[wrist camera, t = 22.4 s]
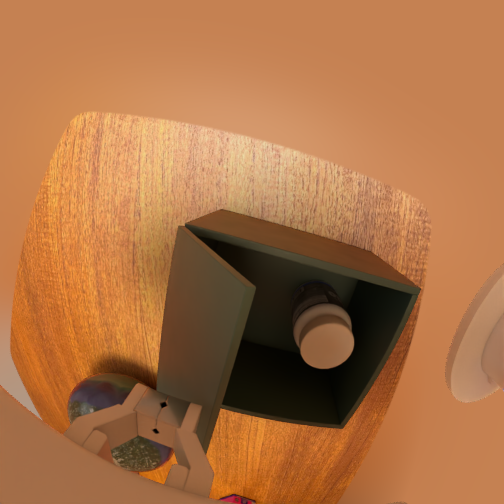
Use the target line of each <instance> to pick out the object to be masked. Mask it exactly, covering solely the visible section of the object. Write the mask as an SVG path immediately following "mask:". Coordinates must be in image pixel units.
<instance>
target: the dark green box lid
mask: <svg viewBox="0 0 504 504" xmlns="http://www.w3.org/2000/svg"><path fill="white" fill-rule="evenodd" d="M255 290H256V287H255V286H254V285H253V284H252V283H251V282H249V281H248V280H247V279H246V278H245V277H243V276H242V275H241V274H240V273H239V272H237V271H236V270H235V269H234V268H233V267H231V266H230V265H229V264H228V263H227V262H226V261H224V260H223V259H222V258H221V257H220V256H218V255H217V254H216V253H215V252H214V251H213V250H211V249H210V248H209V247H208V246H207V245H206V244H204V243H203V242H202V241H201V240H200V239H199V238H197V237H196V236H195V235H194V234H193V233H192V232H191V231H189V230H188V229H187V228H186V227H185V226H178V230H177V235H176V240H175V246H174V251H173V257H172V263H171V269H170V275H169V281H168V287H167V294H166V301H165V309H164V316H163V324H162V333H161V342H160V352H159V363H158V375H157V389H156V390H157V391H159V392H162V393H164V394H167V395H170V396H173V397H176V398H179V399H182V400H185V401H189V402H191V403H194V404H198V405H201V406H202V410H201V414H200V419H199V423H198V426H197V430H196V434H197V436H198V439H199V441H200V444H201V446H202V448H203V450H204V453H205V455H206V453H207V450H208V447H209V444H210V440H211V437H212V434H213V431H214V428H215V424H216V421H217V418H218V415H219V411H220V408H221V405H222V402H223V398H224V395H225V392H226V388H227V385H228V382H229V378H230V375H231V372H232V368H233V365H234V362H235V358H236V355H237V352H238V348H239V345H240V342H241V338H242V335H243V331H244V328H245V324H246V321H247V318H248V314H249V311H250V307H251V304H252V300H253V297H254V293H255Z"/></svg>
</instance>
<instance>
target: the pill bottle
mask: <svg viewBox="0 0 504 504" xmlns="http://www.w3.org/2000/svg"><path fill="white" fill-rule="evenodd" d="M291 314H292V324H293V335H294V339H295V342H296V344H297V346H298V347H299V348H300V353H301V356H302V358H303V359H304V361H305V362H306V363H307V364H309V365H310V366H312V367H315V368H319V369H328V368H333V367H336V366H338V365H340V364H341V363H343V362H344V361H346V360H347V358H348V357H349V356H350V355H351V353H352V351H353V348H354V337H353V334H352V324H351V320H350V317H349V315H348V313H347V311H346V309H345V308H344V305H343V304H342V302H341V300H340V298H339V297H338V295H337V293H336V291H335V290H334V288H333V287H332V286H331V285H330V284H328V283H326V282H324V281H320V280H313V281H309V282H306V283H304V284H302V285H300V286H299V287H298V288H297V289H296V290H295V292H294V294H293V296H292V299H291Z"/></svg>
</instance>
